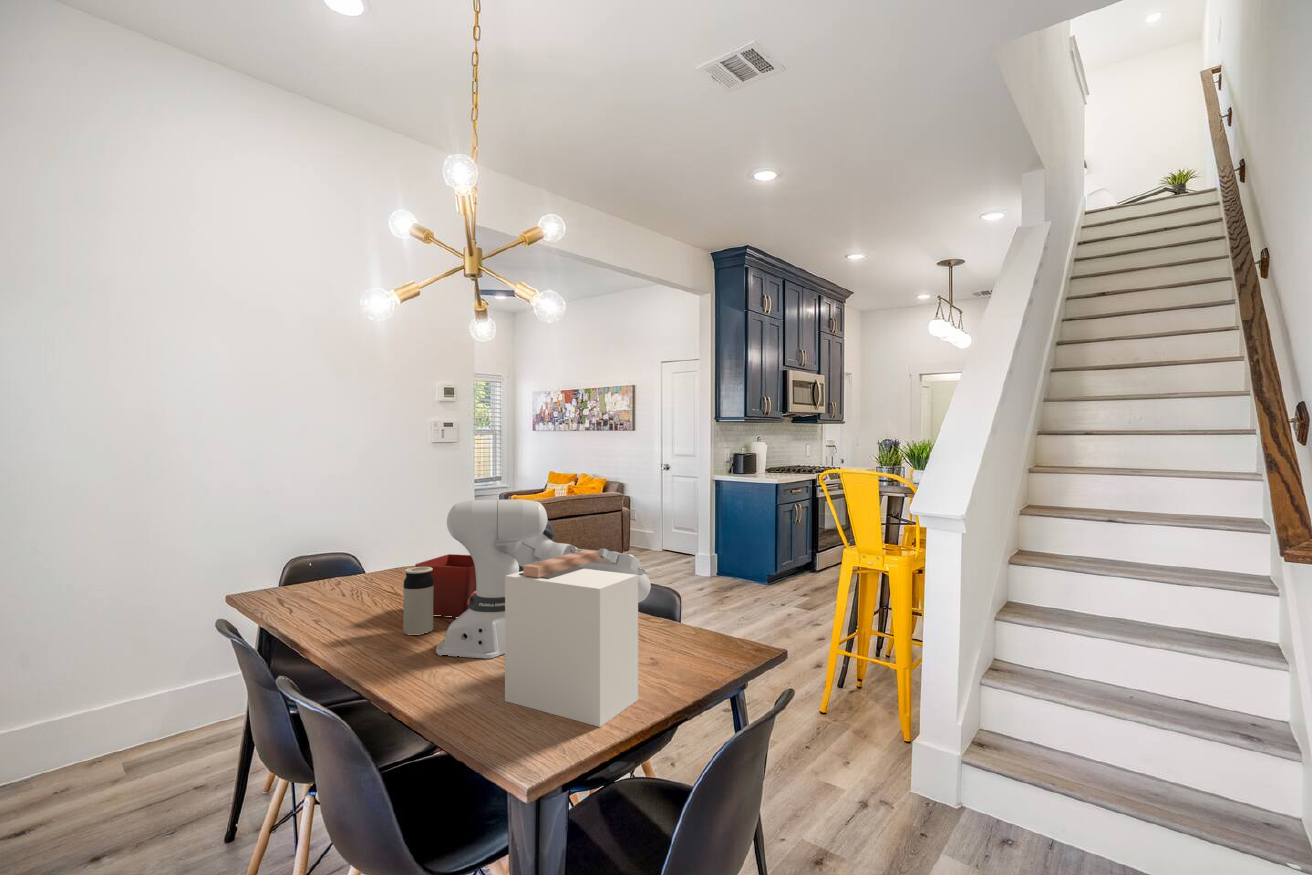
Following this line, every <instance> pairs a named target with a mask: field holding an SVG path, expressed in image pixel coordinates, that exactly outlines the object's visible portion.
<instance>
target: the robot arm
mask: <svg viewBox="0 0 1312 875" xmlns="http://www.w3.org/2000/svg"><path fill="white" fill-rule="evenodd" d="M546 510H547V509H545V507H544V505H543V504H542V503H541V502H540V501H536V500H531V499H530V500H529V499H523V498H521V499H520V498H516V499H513V498H512V499H472V500H467V501H466V500H465V501H462V502H457V503H455V504H453V506H452V507H451V509H449V511H448V514H447V517H446V527H447V530H448V532H449V535H450V536H451V537H452V538H453V539H454V540H456V541H457V542H459V543H460V544H461V545H462V546H463V547H464V548H465V549H466V550H467V552H468V553H469V555H471V557H472V559H473V562H474V565H475V573H476V591H474V592H473V593H472V594H471V596H470V597H469V599H468V600H467V601H468V603H467V604H469V609H467V610H466V611H465V612H464V613H462V614H461V615H460V616H459V617H458V618H454V620H453V621H451V623H450V624H449V626H448V628H447V630H446V633H445V634H446V635H445V639H443V640H442V641H440V642H439V643H438V644H437V646H436V648H435V653H437V654H438V655H437V654H436V655H437V656H442V655H448V656H447V657H457V656H459V657H460V658H473V659H474V658H476V659H492V658H496V657H498V656H501V655H505V576H507V575H510V574H514V573H518V572H522V571H523V566H524V565H528V564H532V563H536V562H540V561H544V560H548V559H552V558H556V557H560V556H564V555H567V554H571V553H575V552H579V551H583V550H587V549H583V548H578V547H576V546H575V545H572V544H570V543H563V542H562V543H561V542H555V541H553V539H556V536H557V535H556V534H555V533H554V526H553V524H552V522H551V521H549V520H548V514H547V511H546ZM593 550H594V551H599V552H598V556H600V560H597V561H593V562H590V563H586V564H583V565H579V566H578V567H584V569H592V570H600V571H609V572H617V573H625V574H634V575H638V604H639V603H641V602H643V601H644V600H646V598H647V597H648V595H649V594H650V592H651V588H652V587H651V585H652V584H651V580H650V578H649V577H648V576H647V574H646V573H647V571H646V569H645V568H643V567H642V563H641V561H640V560H639V559H638V558H637V557H636V556H634V555H633V554H630V553H625V552H624V553H623V552H622V553H621V552H618V551H615V550H612V549H608V548H599V549H598V550H595V549H593Z"/></svg>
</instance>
